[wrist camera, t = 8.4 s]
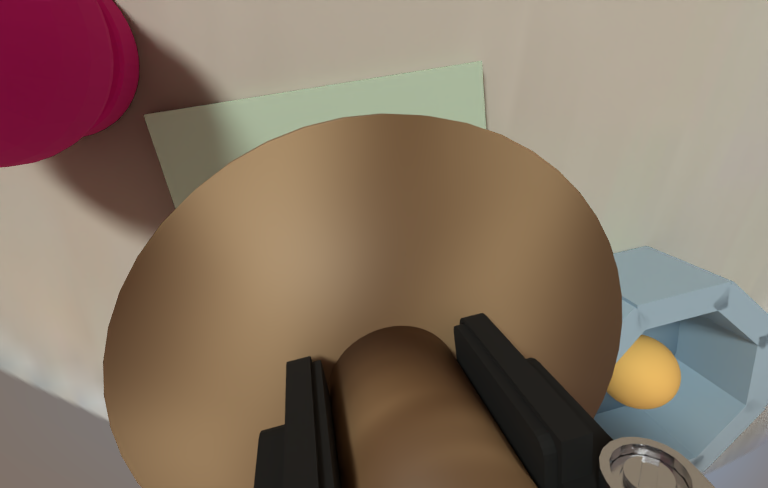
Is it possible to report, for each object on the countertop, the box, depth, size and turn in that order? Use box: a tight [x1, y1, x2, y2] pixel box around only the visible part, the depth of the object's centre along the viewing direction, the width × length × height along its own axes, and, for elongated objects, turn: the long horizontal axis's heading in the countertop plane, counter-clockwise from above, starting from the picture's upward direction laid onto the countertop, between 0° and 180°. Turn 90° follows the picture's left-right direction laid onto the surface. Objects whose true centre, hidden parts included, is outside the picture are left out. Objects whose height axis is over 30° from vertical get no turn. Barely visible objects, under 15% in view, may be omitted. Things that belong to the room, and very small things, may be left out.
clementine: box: [606, 334, 681, 409], centre depth 23 cm, size 4×4×4 cm
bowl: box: [594, 246, 768, 472], centre depth 23 cm, size 12×12×5 cm
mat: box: [144, 61, 486, 209], centre depth 20 cm, size 14×14×1 cm
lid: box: [103, 113, 622, 488], centre depth 8 cm, size 13×13×6 cm
